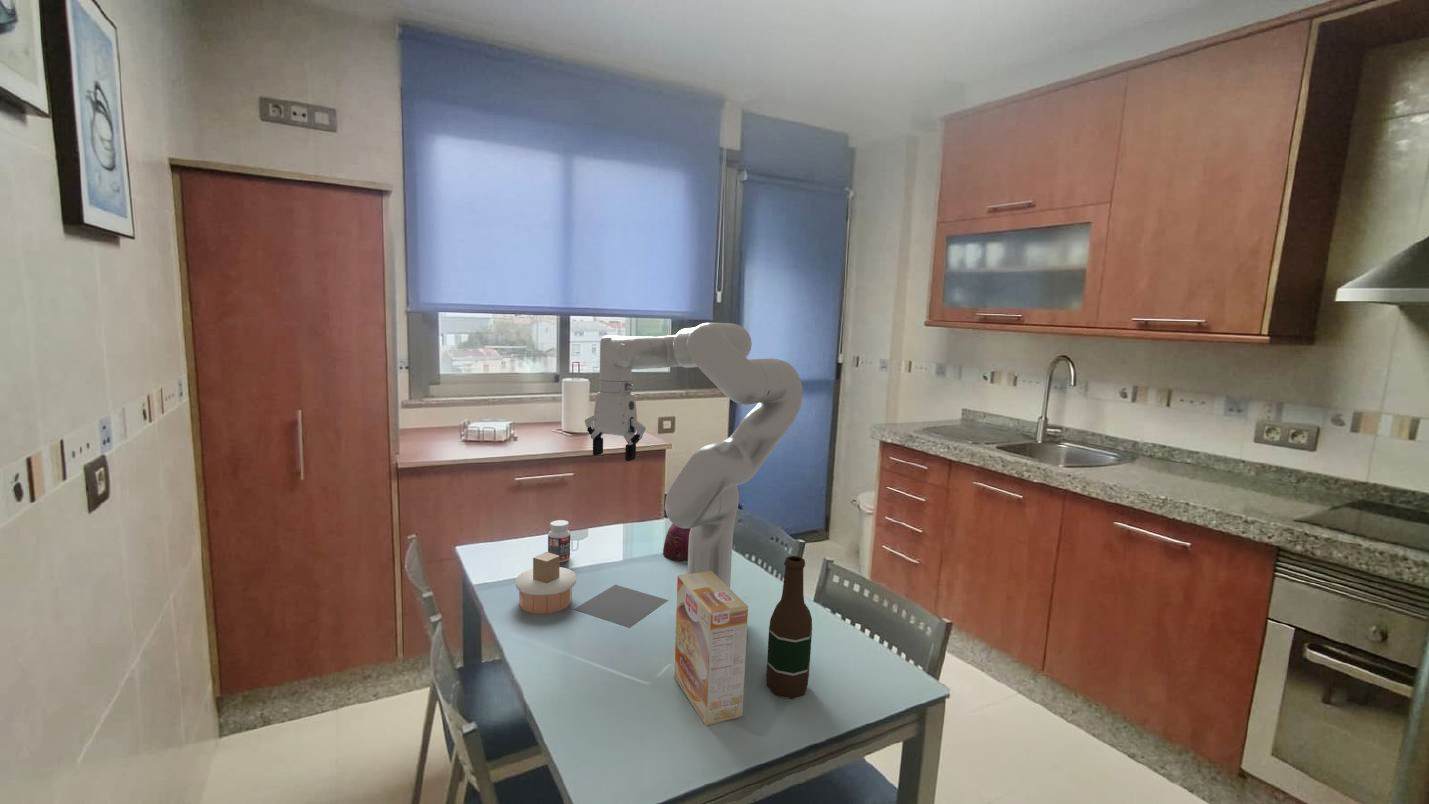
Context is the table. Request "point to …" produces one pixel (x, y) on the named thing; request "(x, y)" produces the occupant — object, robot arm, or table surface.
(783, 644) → the beer bottle
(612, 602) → the mat
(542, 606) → the bowl
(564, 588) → the lid
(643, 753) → the table surface
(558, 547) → the pill bottle
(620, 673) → the table surface
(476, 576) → the table surface
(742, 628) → the coffeecake box
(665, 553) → the vegetable
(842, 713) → the table surface
